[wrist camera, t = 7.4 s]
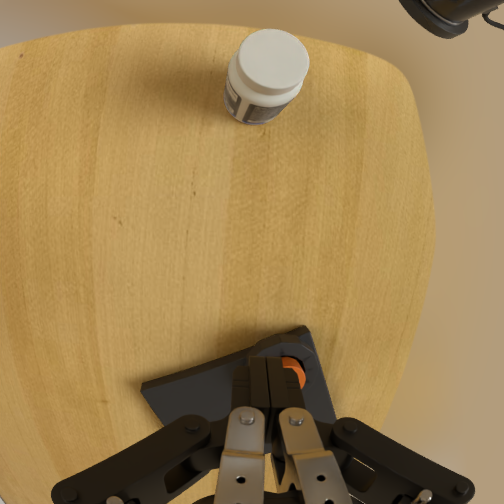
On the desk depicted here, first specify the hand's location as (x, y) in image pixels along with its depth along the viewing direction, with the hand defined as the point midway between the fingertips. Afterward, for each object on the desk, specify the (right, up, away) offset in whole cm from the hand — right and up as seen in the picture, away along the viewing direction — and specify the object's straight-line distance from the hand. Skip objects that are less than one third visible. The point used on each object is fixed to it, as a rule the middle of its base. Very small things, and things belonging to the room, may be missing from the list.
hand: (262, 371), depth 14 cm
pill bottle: (0, +18, +9) cm, 20 cm away
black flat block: (-1, -10, +14) cm, 17 cm away
